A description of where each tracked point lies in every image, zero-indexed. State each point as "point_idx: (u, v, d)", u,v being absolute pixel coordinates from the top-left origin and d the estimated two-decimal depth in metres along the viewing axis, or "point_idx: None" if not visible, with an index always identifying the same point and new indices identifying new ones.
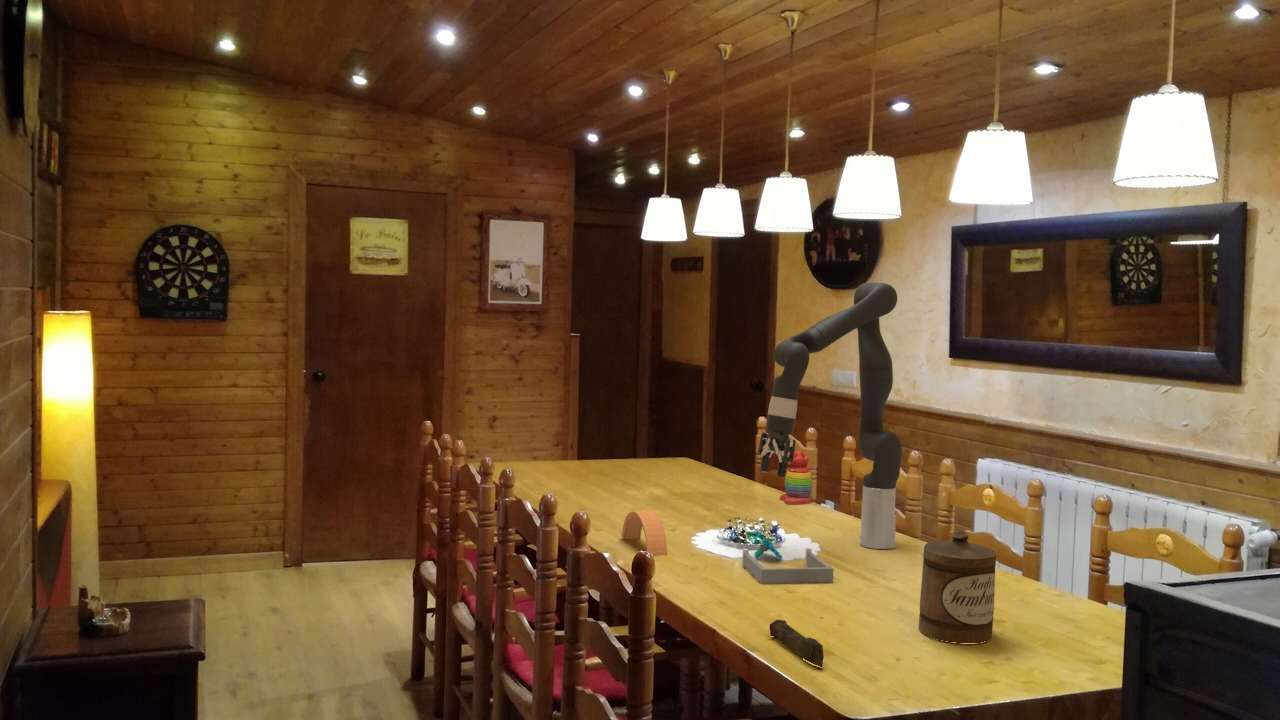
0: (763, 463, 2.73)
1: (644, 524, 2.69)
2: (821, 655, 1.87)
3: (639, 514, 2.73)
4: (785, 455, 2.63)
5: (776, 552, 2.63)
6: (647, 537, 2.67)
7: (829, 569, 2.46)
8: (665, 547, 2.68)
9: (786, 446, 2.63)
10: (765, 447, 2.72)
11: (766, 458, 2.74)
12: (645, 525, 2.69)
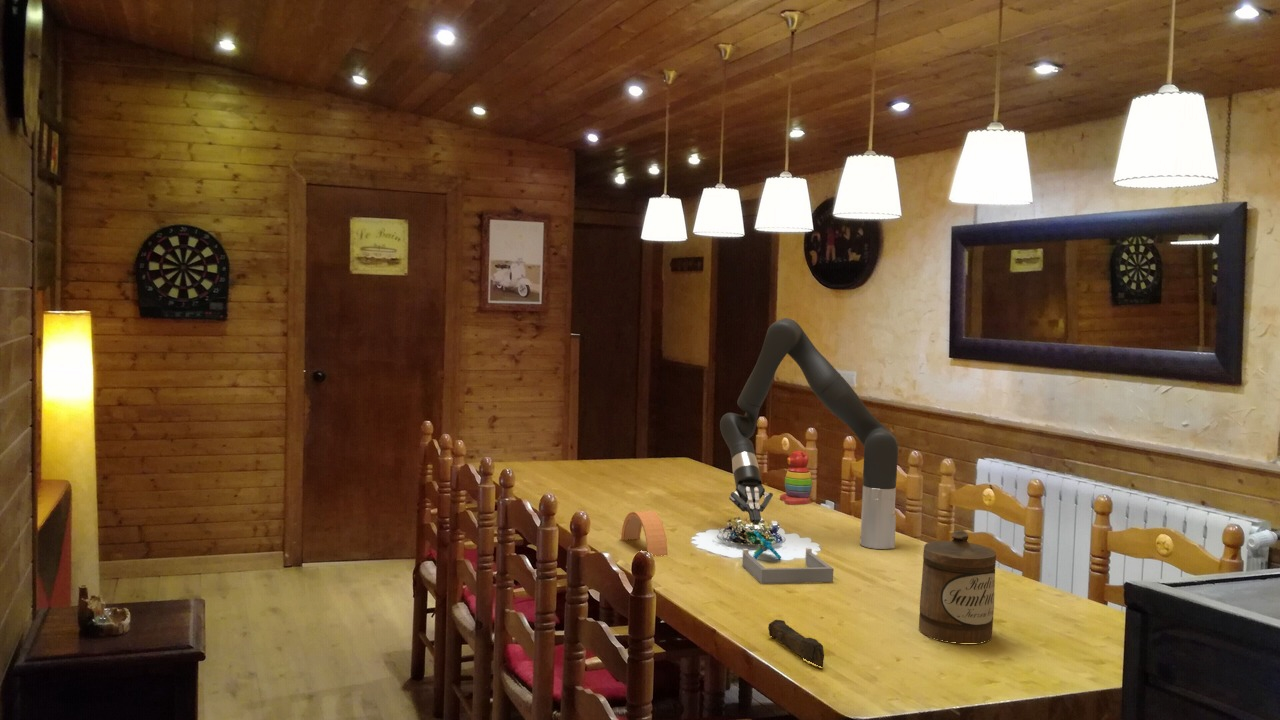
0: None
1: (644, 524, 2.69)
2: (822, 655, 1.87)
3: (639, 514, 2.72)
4: None
5: (774, 552, 2.63)
6: (647, 537, 2.66)
7: (829, 569, 2.46)
8: (665, 547, 2.67)
9: None
10: None
11: None
12: (645, 525, 2.69)
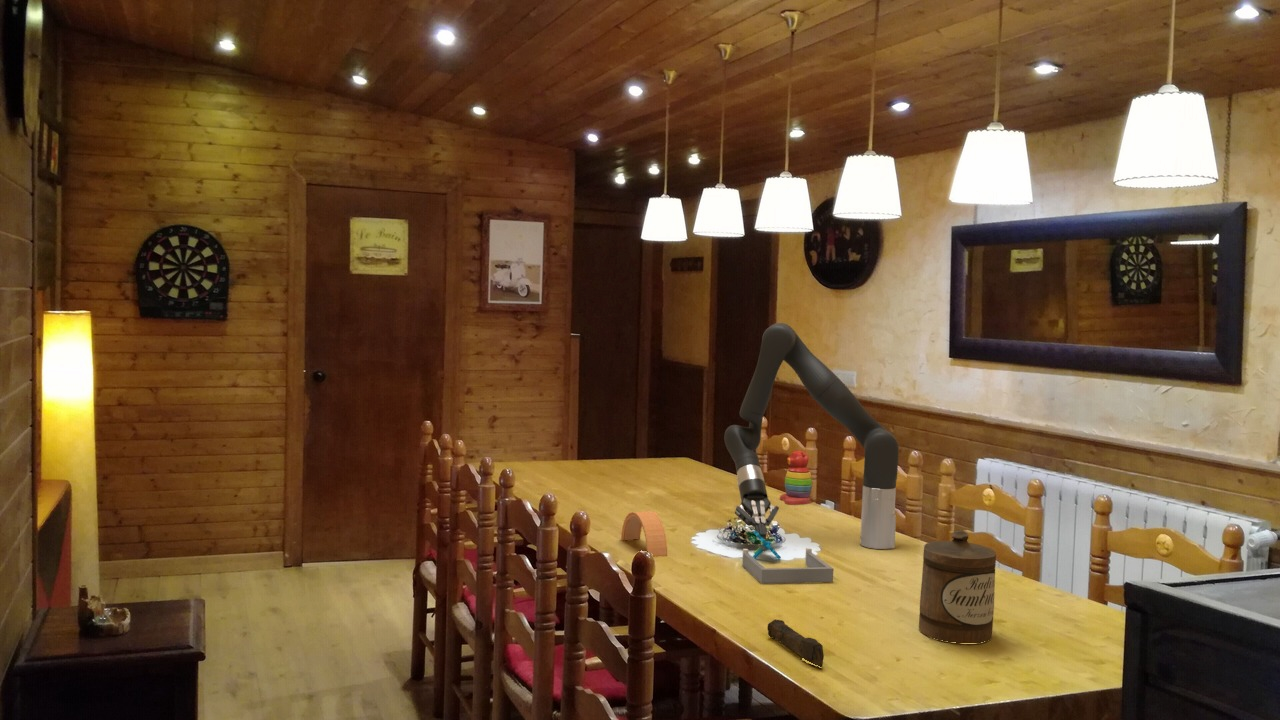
0: None
1: (644, 525, 2.68)
2: (821, 655, 1.87)
3: (639, 515, 2.72)
4: None
5: (774, 552, 2.63)
6: (647, 538, 2.66)
7: (829, 569, 2.46)
8: (665, 548, 2.67)
9: None
10: None
11: None
12: (645, 525, 2.68)
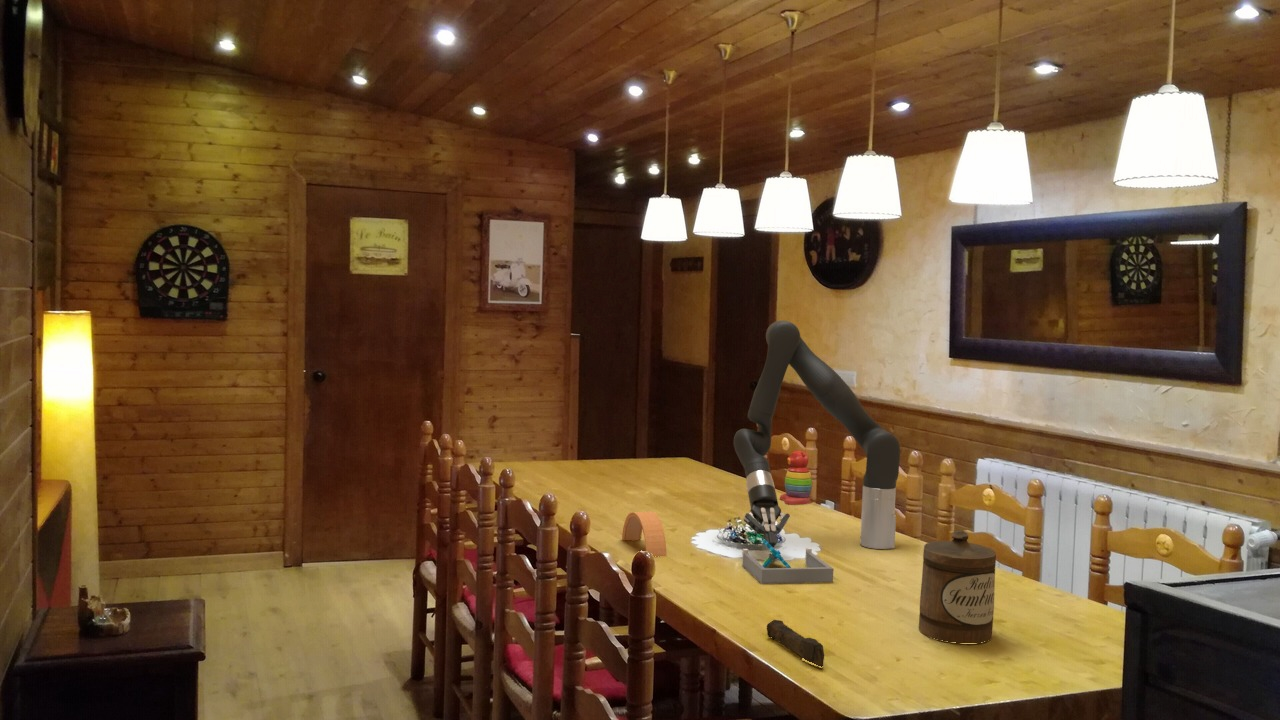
0: None
1: (643, 525, 2.68)
2: (822, 655, 1.87)
3: (639, 515, 2.72)
4: None
5: (784, 562, 2.53)
6: (646, 538, 2.66)
7: (829, 569, 2.46)
8: (664, 548, 2.66)
9: None
10: None
11: None
12: (644, 526, 2.68)
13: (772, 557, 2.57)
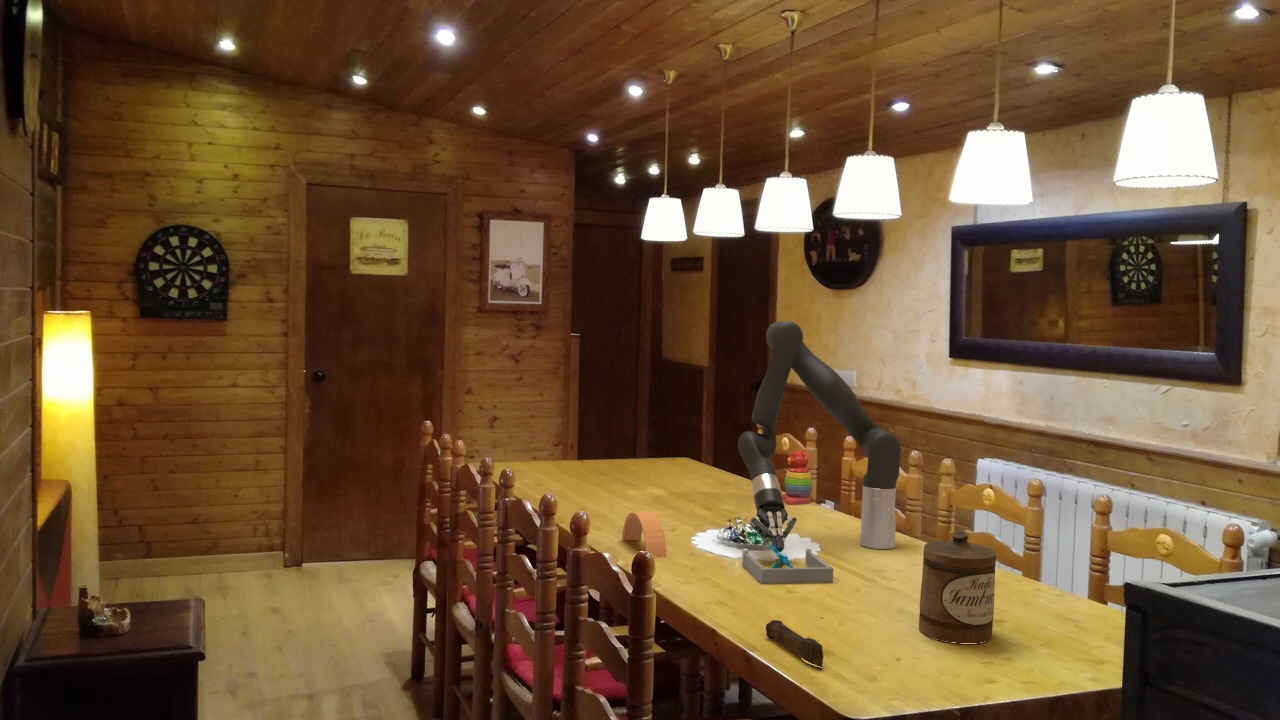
0: None
1: (643, 525, 2.67)
2: (821, 655, 1.87)
3: (639, 515, 2.71)
4: None
5: (791, 567, 2.48)
6: (646, 539, 2.65)
7: (829, 569, 2.46)
8: (664, 549, 2.66)
9: None
10: None
11: None
12: (644, 526, 2.67)
13: (779, 562, 2.52)
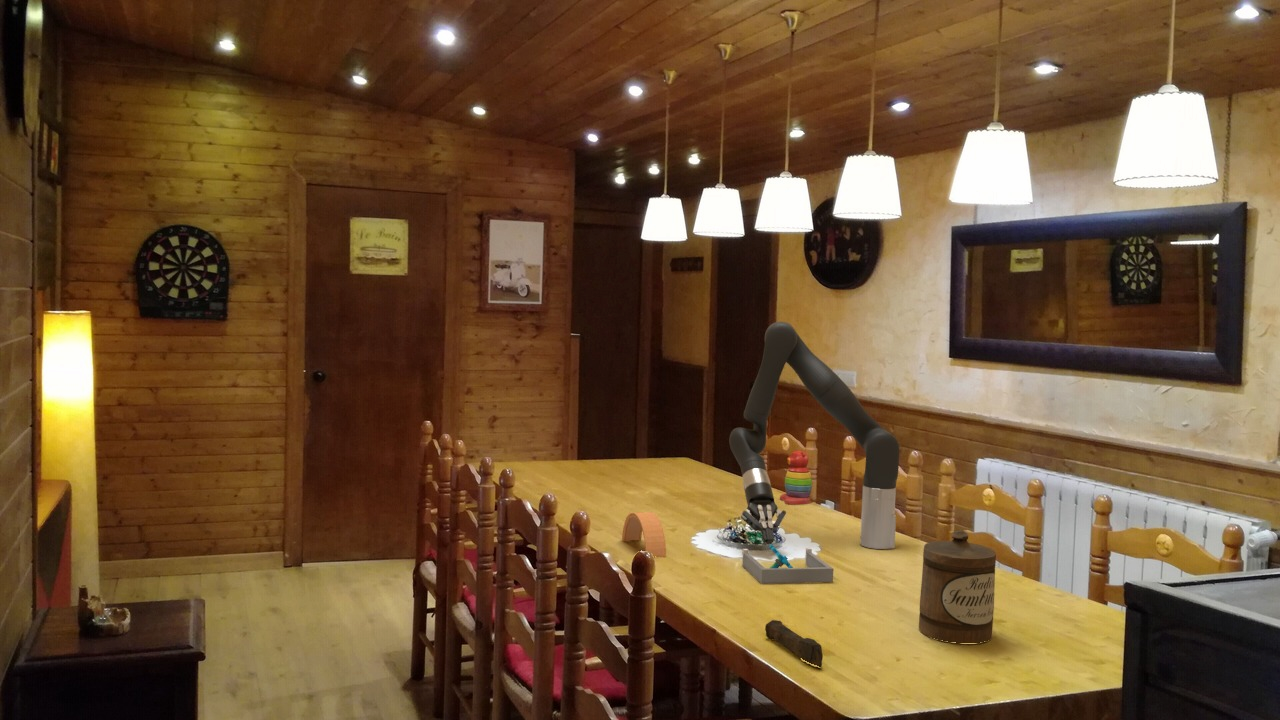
0: None
1: (643, 526, 2.67)
2: (820, 655, 1.87)
3: (638, 516, 2.71)
4: None
5: None
6: (646, 539, 2.65)
7: (829, 569, 2.46)
8: (664, 549, 2.66)
9: None
10: None
11: None
12: (644, 526, 2.67)
13: (779, 562, 2.52)
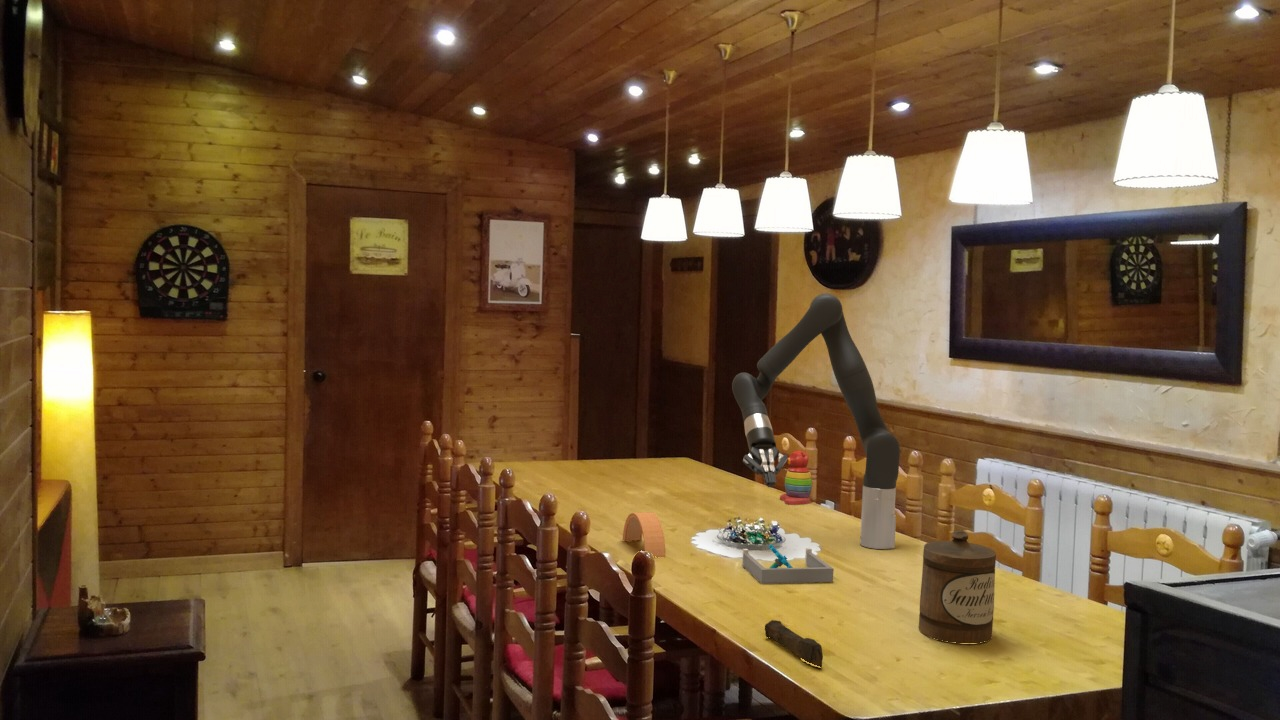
0: None
1: (643, 526, 2.67)
2: (820, 655, 1.87)
3: (638, 516, 2.71)
4: None
5: None
6: (645, 539, 2.65)
7: (829, 569, 2.46)
8: (664, 549, 2.65)
9: None
10: None
11: None
12: (644, 526, 2.67)
13: (778, 562, 2.52)
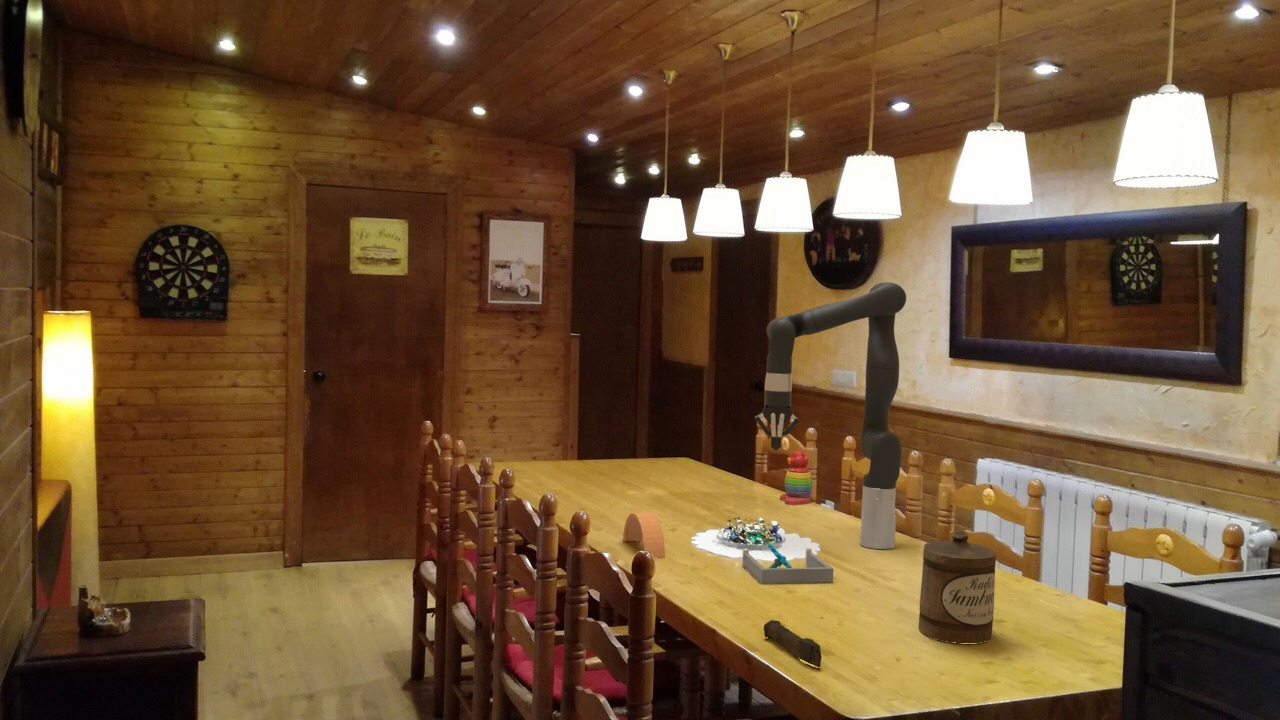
0: None
1: (642, 526, 2.66)
2: (819, 655, 1.87)
3: (638, 516, 2.70)
4: None
5: None
6: (645, 539, 2.64)
7: (829, 569, 2.46)
8: (663, 550, 2.65)
9: None
10: None
11: (776, 437, 2.83)
12: (643, 527, 2.66)
13: (777, 562, 2.52)
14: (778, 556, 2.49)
